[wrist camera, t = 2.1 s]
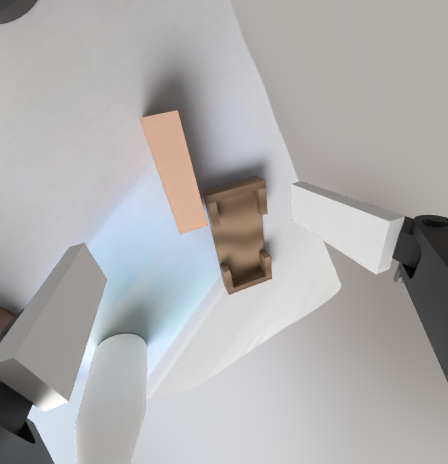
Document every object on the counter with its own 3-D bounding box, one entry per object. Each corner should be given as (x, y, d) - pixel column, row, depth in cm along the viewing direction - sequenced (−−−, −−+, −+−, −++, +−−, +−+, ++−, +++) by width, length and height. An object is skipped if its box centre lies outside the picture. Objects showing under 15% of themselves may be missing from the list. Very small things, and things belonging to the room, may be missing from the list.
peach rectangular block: (141, 120, 25) (138, 118, 20) (172, 113, 26) (177, 110, 21) (175, 217, 32) (179, 234, 27) (199, 210, 33) (207, 225, 28)
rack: (202, 190, 32) (206, 196, 29) (256, 176, 33) (265, 180, 31) (224, 284, 42) (228, 294, 39) (265, 269, 43) (272, 278, 41)
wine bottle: (102, 329, 37) (-6, 758, 12) (153, 332, 42) (155, 654, 16) (89, 363, 40) (-23, 775, 14) (138, 363, 44) (119, 681, 19)
